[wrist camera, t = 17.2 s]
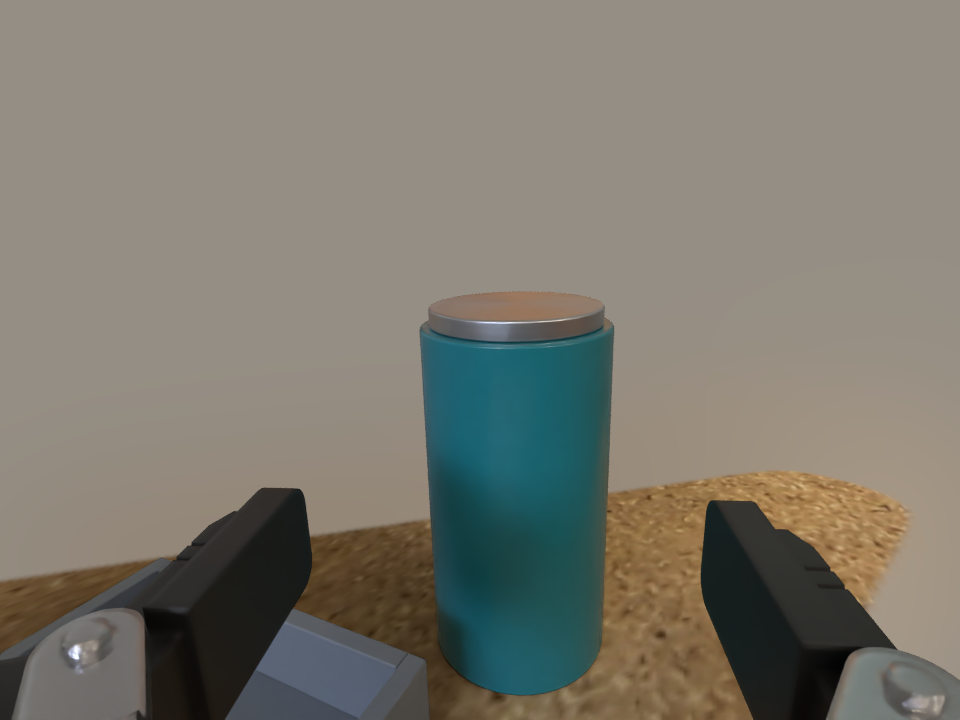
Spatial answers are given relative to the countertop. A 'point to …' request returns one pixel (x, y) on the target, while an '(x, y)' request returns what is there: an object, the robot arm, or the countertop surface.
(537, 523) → the slim can
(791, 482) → the countertop surface
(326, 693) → the gray rectangular tray
